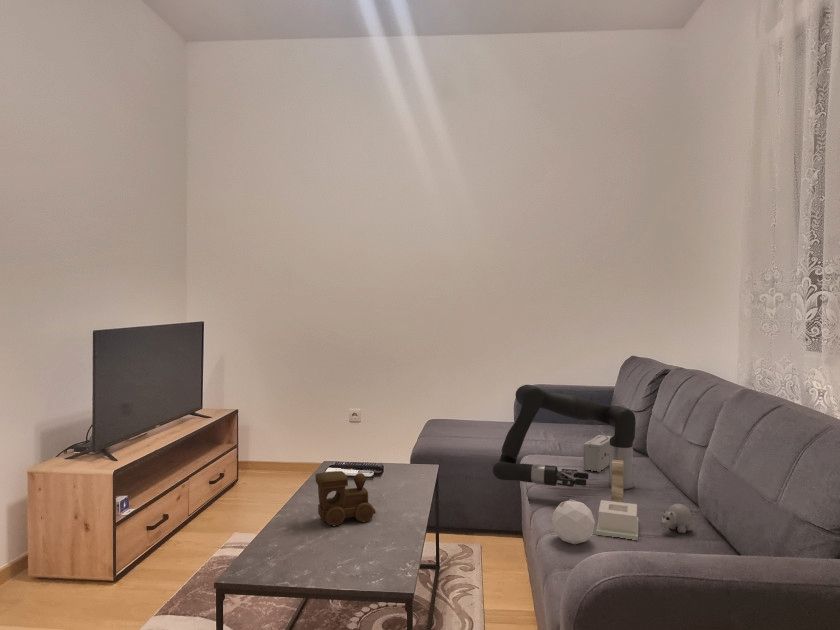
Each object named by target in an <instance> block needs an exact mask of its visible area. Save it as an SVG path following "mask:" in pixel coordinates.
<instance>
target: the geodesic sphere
mask: <svg viewBox="0 0 840 630" xmlns="http://www.w3.org/2000/svg"><path fill="white" fill-rule="evenodd" d="M553 511H554V512H553V514H552V519H551V522H552V523H551V524H552V525H553V529H554V531H555V534H557V536H558V537H559V538H560V539H561V541H563V542H566V543H568V544H572V545H577V544H581V543H585V542H587V541H588V540H589V539H590V537H591V536H592V535H593V534H594V528H595V524H596V522H595V518H594V515H593V512H592V510H591V509H590V508H589V507H588V506H587V505H586V504H585V503H583V502H581V501H578V500H575V499H571V498H569V500H565V501H562V502H560V503H559V504H558V506H557V507H556V508H555V509H554V510H553Z"/></svg>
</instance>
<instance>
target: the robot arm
mask: <svg viewBox="0 0 840 630" xmlns="http://www.w3.org/2000/svg"><path fill="white" fill-rule="evenodd" d="M515 399H516V401H517V402H518V404H519V405H520V406H521V407H520V412H519V413H518V416H517V418H516V420H515V421H514V422H513V424H512V426H511V427H510V428H509V430H508V432H507V434H506V436H505V439H504V441H503V445H502V447H501V456H500V458H499V461H497V462H496V463H495V464H494V465H493V466H492V474H493V475H494V477H495V478H497V479H498V480H501V481H514V482H516V481H518V482H519V481H520V482H523V483H531V484H536V485H542V486H543V485H544V486H553V487H556V486H565V487H569V488H570V487H572V488H573V487H574V486H583V487H584V486H587V480H588V479H589V473H588V472H580V471H578V470H577V469H570V468H569V469H568V468H562V469H561V471H559V470H558V466H557V465H548V464H532V463H531V464H530V463H517V460H518V457H519V456H518V455H519V454H520V451H521V449H522V446H523V444H524V440H525V438H526V435H527V434H528V431H529V430H530V429H529V428H530V427H531V425H532V423H533V421H534V419H535V418H536V416H537V414H538V412H539V410H540V409H544V410H548V411H551V412H552V413H555V414H557V415H561V416H564V417H566V418H571V419H575V420H579V421H580V420H581V421H597V422H600V423H603V424H606V425H609V426H611V427H612V428H614V435H613V436H612V437H611V438H610V454H609V466H608V467H609V470H608V471H609V473H608V475H609V477H608V478H609V479H608V482H609V483H608V484H609V486H610V488H612V460H621V461H624V467H623V490H629V489H632V488H635V477H636V476H635V474H636V472H635V470H636V469H635V467H636V466H635V464H634V463H633V459H634V458H633V455H634V454H633V452H634V450H633V448H634V447H633V445H634V441H635V437H636V423H637V422H636V421H637V419H636V415H635V413H634V412H633V411H632V410H631V409H628V408H627V407H623V406H620V405H609V404H603V403H599V402H595V401H593V400H590V399H588V398H585V397H581V396H577V395H573V394H567V393H561V392H552V391H548V390H547V391H546V390H543V389H541V388H540V387H539V386H538V387H537V386H536V385H531V384H523V385H521V386H519V387H518V388H517V390H516V391H515Z"/></svg>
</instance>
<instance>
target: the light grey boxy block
mask: <svg viewBox="0 0 840 630" xmlns="http://www.w3.org/2000/svg"><path fill="white" fill-rule="evenodd" d="M597 431H599V432H600V433H601V434H598V435H596V436H594V437H593V438H591V439H590V440H588V441H586V442H584V443H583V453H582V456H583V457H582V458H583V459H582V460H583V461H582V462H583V464H582V465H583V470H585V471H587V470H591V471H590V472H593V471H597V472H596V473H598V472H599V473H601V472H602V471H603V470H605V469H606V468H607V467H609V454H610V438H611V437H613V436H612V435H606V434H604V432H602V430H600V429H599V428H598V429H597ZM601 470H602V471H601Z"/></svg>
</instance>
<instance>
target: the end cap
mask: <svg viewBox="0 0 840 630" xmlns="http://www.w3.org/2000/svg"><path fill="white" fill-rule="evenodd" d="M595 532H596V533H595V536H598V535H603V536H602V537H605V536H612V537H611V538H613V537H620V538H626V539H625V540H627V539H632V540H631V541H634V540H637V541H636V542H639V517H638V504H637V503H627V502H623V503H621V502H613V501H611V500H604V499H601V500H600V504H599V508H598V521H597V525H596V530H595ZM620 538H619V539H620Z"/></svg>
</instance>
